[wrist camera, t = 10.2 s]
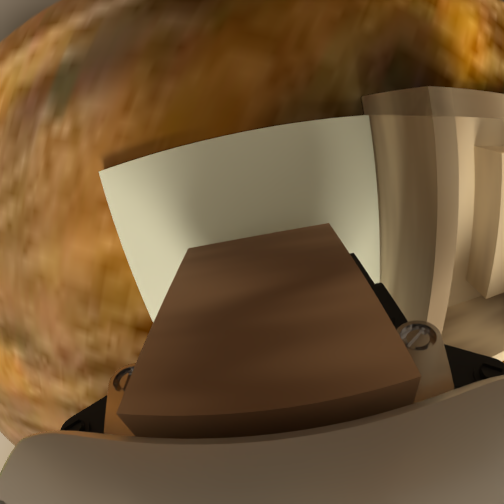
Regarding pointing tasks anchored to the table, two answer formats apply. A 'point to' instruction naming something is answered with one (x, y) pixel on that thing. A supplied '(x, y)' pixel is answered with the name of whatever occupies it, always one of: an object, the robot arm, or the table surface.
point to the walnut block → (267, 343)
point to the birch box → (443, 209)
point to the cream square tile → (245, 195)
